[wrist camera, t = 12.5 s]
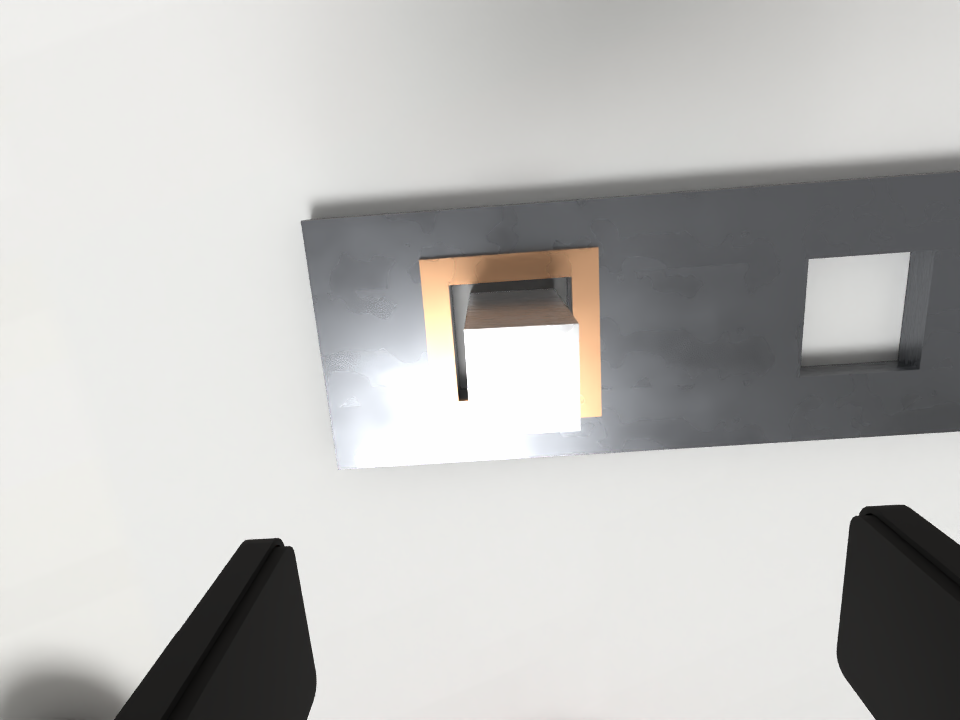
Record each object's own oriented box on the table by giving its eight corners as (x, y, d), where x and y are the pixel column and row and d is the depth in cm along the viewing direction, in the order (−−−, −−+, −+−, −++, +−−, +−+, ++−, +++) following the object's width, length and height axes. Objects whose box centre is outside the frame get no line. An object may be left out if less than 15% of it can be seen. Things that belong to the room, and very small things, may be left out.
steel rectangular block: (553, 288, 28) (578, 323, 21) (555, 368, 29) (580, 430, 22) (470, 292, 28) (464, 329, 21) (475, 372, 29) (471, 436, 22)
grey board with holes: (1063, 163, 26) (1103, 161, 25) (1017, 414, 30) (1050, 428, 28) (310, 219, 28) (298, 221, 26) (344, 456, 31) (336, 472, 29)
